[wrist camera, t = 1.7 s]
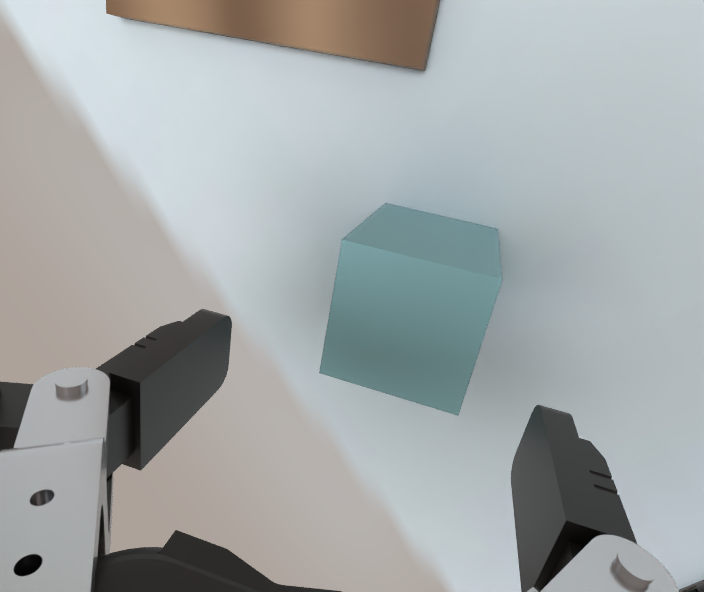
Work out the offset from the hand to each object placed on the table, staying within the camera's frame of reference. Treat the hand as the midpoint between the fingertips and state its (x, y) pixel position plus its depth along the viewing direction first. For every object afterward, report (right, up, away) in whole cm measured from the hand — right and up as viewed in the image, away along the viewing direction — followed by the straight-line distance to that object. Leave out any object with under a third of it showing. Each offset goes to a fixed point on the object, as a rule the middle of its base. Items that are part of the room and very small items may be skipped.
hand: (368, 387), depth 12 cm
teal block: (+3, +4, +9) cm, 11 cm away
